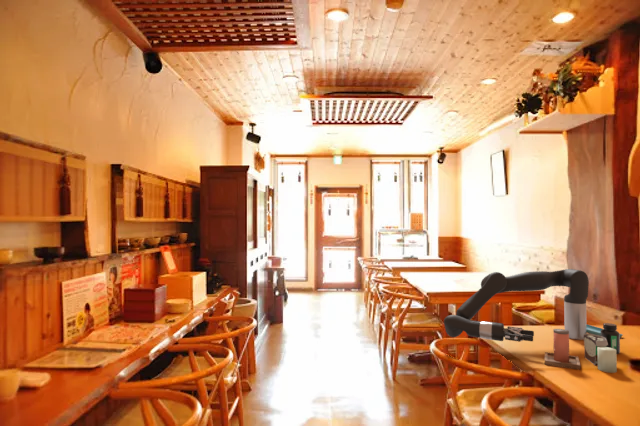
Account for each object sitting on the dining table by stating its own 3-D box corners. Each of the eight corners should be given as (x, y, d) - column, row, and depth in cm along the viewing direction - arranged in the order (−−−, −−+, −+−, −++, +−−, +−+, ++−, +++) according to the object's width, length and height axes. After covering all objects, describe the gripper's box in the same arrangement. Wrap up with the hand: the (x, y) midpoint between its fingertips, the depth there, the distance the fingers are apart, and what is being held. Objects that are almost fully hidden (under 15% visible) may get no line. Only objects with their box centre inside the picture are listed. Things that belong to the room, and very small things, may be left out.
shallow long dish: (623, 338, 201) (623, 333, 201) (609, 340, 198) (609, 335, 198) (576, 325, 226) (576, 321, 226) (563, 326, 223) (563, 322, 223)
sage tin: (596, 366, 161) (596, 345, 162) (615, 368, 158) (615, 348, 159) (598, 371, 156) (598, 349, 156) (617, 373, 153) (617, 352, 153)
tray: (544, 355, 174) (544, 352, 174) (578, 360, 168) (578, 356, 168) (544, 364, 163) (544, 360, 163) (580, 369, 157) (580, 365, 157)
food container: (614, 367, 159) (614, 342, 160) (596, 366, 161) (596, 341, 161) (599, 357, 172) (599, 333, 172) (583, 356, 173) (583, 332, 173)
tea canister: (553, 357, 169) (553, 328, 170) (569, 359, 167) (568, 329, 167) (553, 361, 164) (553, 331, 165) (569, 363, 162) (569, 332, 162)
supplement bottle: (618, 355, 174) (618, 327, 174) (599, 352, 179) (599, 324, 179) (621, 351, 179) (620, 324, 179) (602, 348, 184) (601, 321, 184)
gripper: (489, 325, 172) (532, 331, 164) (493, 318, 185) (533, 323, 177) (489, 343, 172) (533, 349, 164) (493, 335, 184) (534, 340, 177)
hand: (533, 336), depth 170 cm, fingers open, 8 cm apart
